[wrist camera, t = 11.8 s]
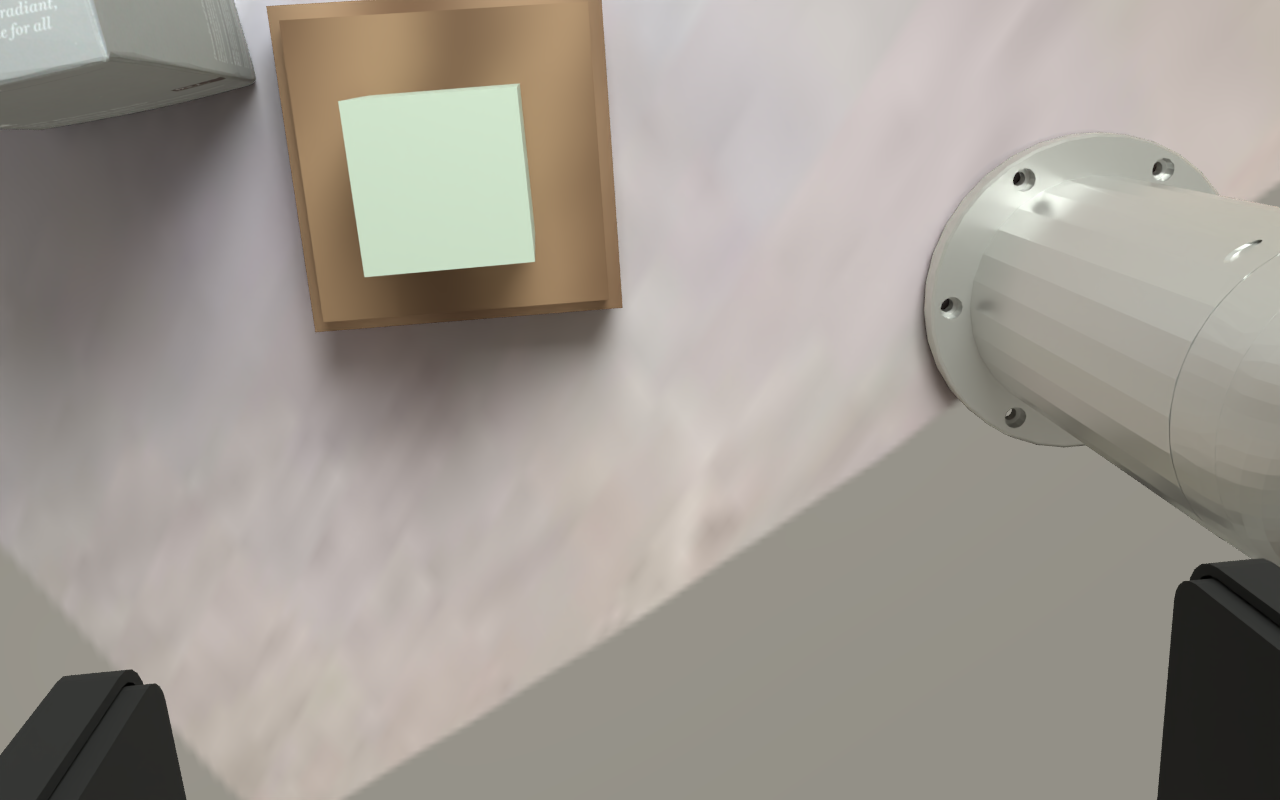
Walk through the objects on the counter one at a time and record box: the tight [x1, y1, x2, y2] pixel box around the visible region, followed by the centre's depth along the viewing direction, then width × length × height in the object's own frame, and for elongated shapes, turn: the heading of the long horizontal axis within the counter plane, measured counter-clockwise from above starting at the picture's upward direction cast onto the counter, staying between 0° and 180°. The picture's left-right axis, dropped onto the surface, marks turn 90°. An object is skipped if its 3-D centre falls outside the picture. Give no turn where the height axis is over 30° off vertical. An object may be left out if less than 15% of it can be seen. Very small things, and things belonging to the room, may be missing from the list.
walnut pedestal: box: [266, 0, 622, 332], centre depth 40 cm, size 11×11×4 cm
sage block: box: [338, 83, 535, 277], centre depth 35 cm, size 5×5×6 cm
